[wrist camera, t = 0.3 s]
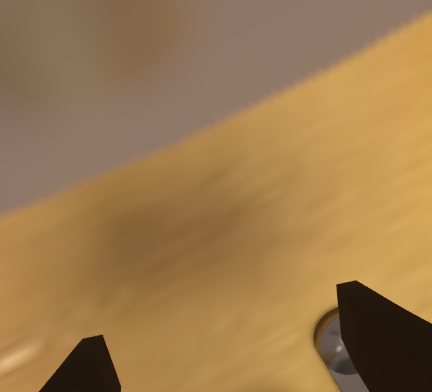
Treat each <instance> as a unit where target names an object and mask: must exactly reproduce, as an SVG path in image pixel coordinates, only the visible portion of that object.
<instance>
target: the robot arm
mask: <svg viewBox="0 0 432 392" xmlns="http://www.w3.org/2000/svg"><path fill="white" fill-rule="evenodd" d="M336 287H337V298H338V309H339V320H340V331H341V339H342V341H343V344H344V346H345V348H346V350H347V352H348V355H349V357H350V359H351V361H352V363H353V365H354V367H355V369H356V371H357V372H358V374H359V376H360V377H361V379H362V381H363V382H364V384H365V386H366V387H367V389H368V390H369V392H432V324H431V323H429V322H428V321H426V320H424V319H422V318H420V317H418V316H416V315H414V314H413V313H411V312H409V311H407V310H406V309H404V308H402V307H400V306H399V305H397V304H395V303H393V302H392V301H390V300H388V299H387V298H385V297H383V296H381V295H380V294H378V293H376V292H375V291H373V290H371V289H370V288H368V287H366V286H365V285H363V284H361V283H360V282H358V281H356V280H355V281H351V282H346V283H341V284H337V285H336ZM39 392H121V385H120V382H119V379H118V376H117V374H116V371H115V368H114V365H113V362H112V360H111V357H110V354H109V351H108V348H107V346H106V343H105V340H104V337H103V335H98V336H94V337H89V338H84V339H82V340H81V341H80V342H79V344H78V345H77V346H76V347H75V348H74V350H73V351H72V352H71V353H70V354H69V356H68V357H67V358H66V359H65V361H64V362H63V363H62V364H61V366H60V367H59V368H58V369H57V370H56V372H55V373H54V374H53V375H52V377H51V378H50V379H49V380H48V381H47V383H46V384H45V385H44V386H43V387H42V389H41V390H40V391H39Z"/></svg>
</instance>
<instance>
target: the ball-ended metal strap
mask: <svg viewBox="0 0 432 392" xmlns="http://www.w3.org/2000/svg"><path fill="white" fill-rule="evenodd" d="M314 342H315V346H316V348H317V350H318V352H319V354H320V356H321V357H322V359H323V361H324V362H325V364H326V366H327V368H328V369H329V371H330V373H331V374H332V376H333V378H334V379H335V381H336V383H337V385H338V386H339V388H340V390H341V391H342V392H369V390H368V389H367V387H366V386H365V384H364V382H363V381H362V379H361V377H360V376H359V374H358V372H357V371H356V369H355V367H354V365H353V363H352V361H351V359H350V357H349V355H348V352H347V350H346V348H345V346H344V344H343V341H342V339H341V331H340V320H339V309H338V308H337V309H334V310H332V311H330V312H329V313H327V314H326V315H325V316H324V317H323V318H322V319H321V320H320V322H319V323H318V325H317V327H316V330H315V335H314Z"/></svg>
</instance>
